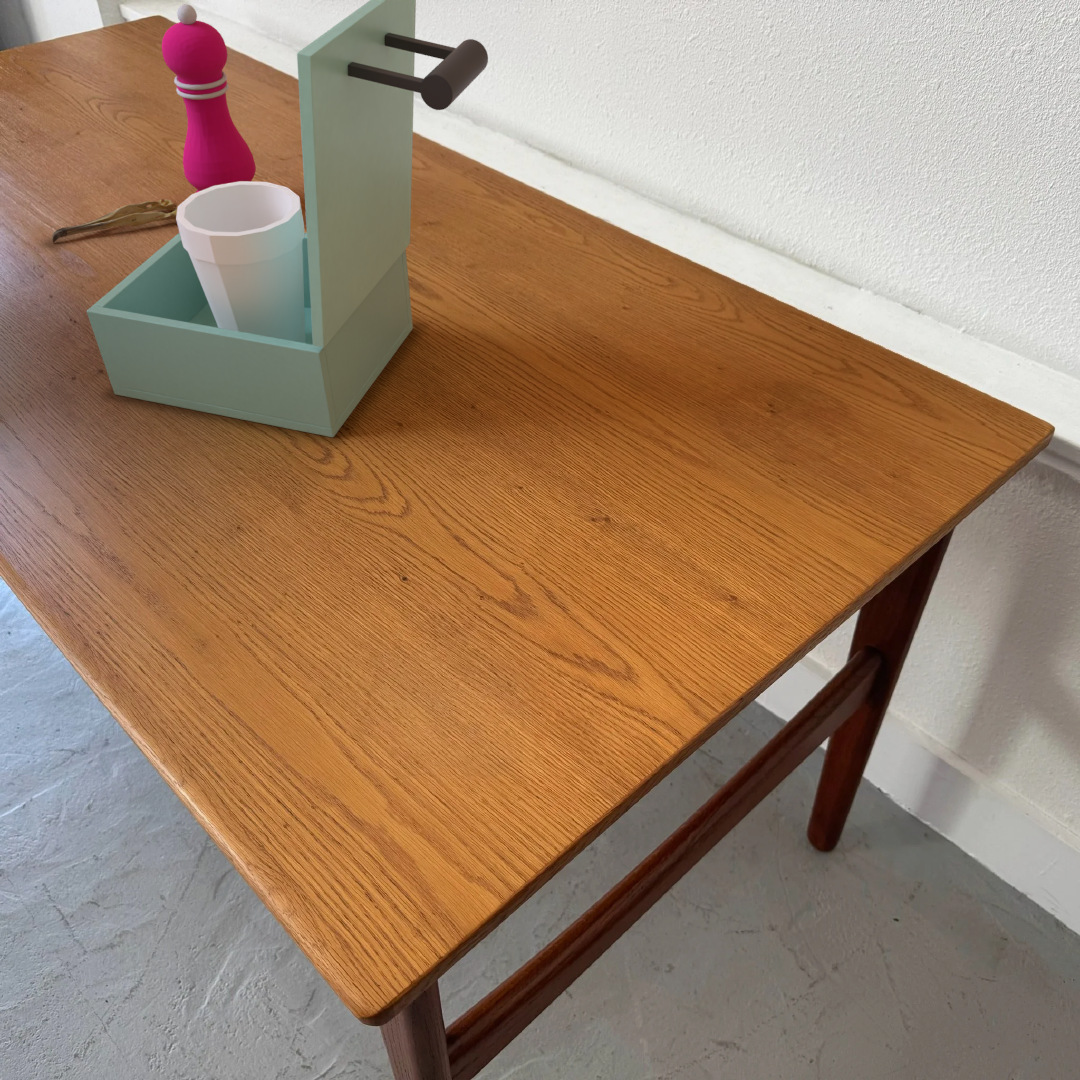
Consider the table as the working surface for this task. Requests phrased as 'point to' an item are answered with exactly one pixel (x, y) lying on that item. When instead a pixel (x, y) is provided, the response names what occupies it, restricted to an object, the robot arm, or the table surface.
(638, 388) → the table surface
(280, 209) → the foam cup
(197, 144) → the pepper mill
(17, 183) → the table surface
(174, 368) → the box
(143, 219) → the tongs
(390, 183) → the freezer lid
